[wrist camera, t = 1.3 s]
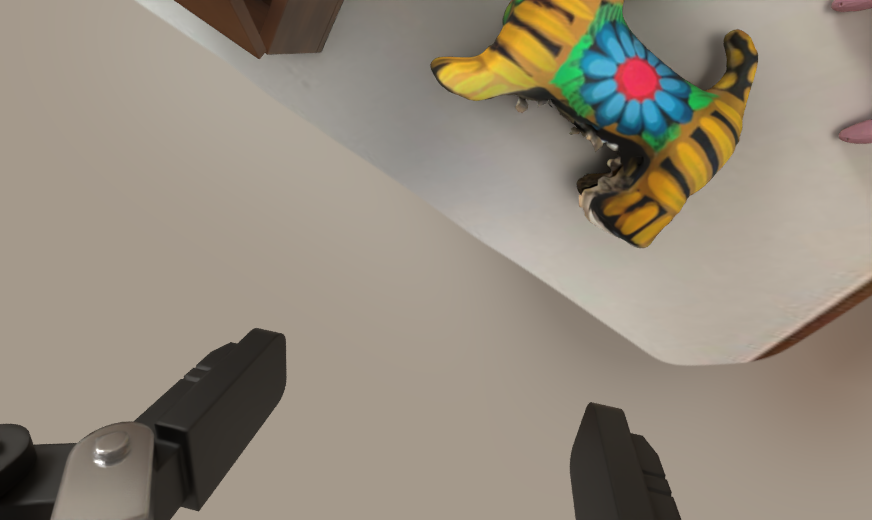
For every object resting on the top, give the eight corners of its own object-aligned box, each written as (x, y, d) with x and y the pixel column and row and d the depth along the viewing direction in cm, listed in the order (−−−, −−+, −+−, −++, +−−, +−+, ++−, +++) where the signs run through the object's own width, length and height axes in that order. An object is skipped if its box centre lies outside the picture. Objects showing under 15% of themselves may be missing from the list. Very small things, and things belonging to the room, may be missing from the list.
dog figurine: (605, 191, 39) (795, -9, 29) (649, 279, 29) (960, 20, 19) (408, 66, 34) (561, -227, 24) (381, 121, 24) (621, -338, 14)
